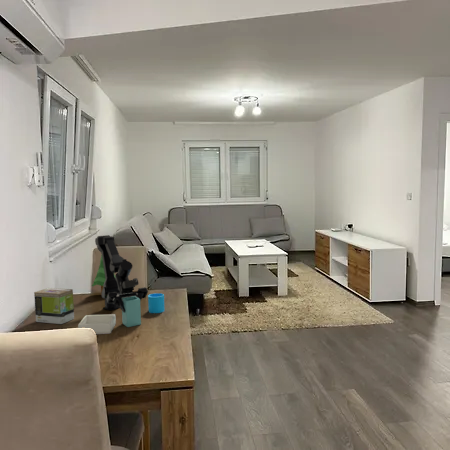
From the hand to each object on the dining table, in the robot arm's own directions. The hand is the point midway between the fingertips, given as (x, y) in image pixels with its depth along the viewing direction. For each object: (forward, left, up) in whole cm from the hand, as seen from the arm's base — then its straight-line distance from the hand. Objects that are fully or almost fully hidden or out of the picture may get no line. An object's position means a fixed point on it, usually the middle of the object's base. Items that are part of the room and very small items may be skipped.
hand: (132, 310), depth 200 cm
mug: (-7, +24, -7) cm, 26 cm away
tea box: (-37, -14, -7) cm, 41 cm away
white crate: (-9, -12, -7) cm, 17 cm away
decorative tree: (-54, +32, -7) cm, 63 cm away
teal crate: (-1, +1, -7) cm, 7 cm away
